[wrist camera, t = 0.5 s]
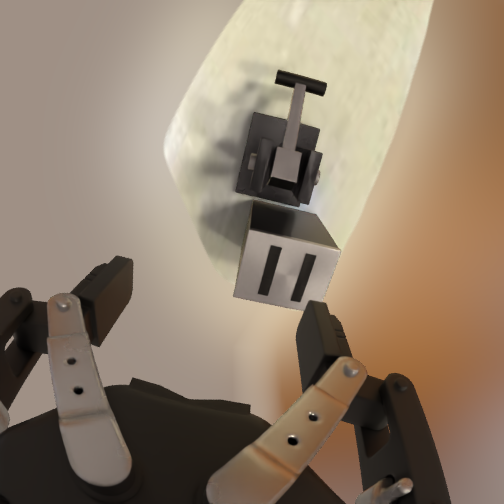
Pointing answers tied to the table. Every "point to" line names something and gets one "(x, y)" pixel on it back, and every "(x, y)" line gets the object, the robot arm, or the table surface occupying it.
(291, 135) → the switch lever
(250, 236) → the toaster body
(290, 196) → the switch bracket
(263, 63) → the table surface
